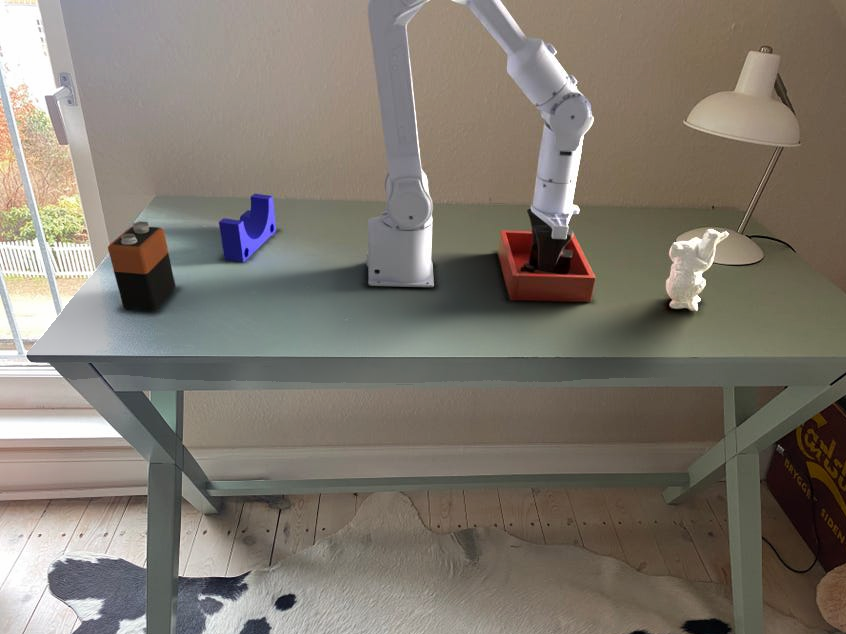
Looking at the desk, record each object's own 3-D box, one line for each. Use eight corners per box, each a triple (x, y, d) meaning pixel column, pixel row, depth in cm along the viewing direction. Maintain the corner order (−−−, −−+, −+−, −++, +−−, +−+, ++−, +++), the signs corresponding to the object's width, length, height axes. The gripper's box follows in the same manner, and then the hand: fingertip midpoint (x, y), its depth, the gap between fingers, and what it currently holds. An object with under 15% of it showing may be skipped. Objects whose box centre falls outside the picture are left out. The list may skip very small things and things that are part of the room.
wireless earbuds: (525, 261, 104) (528, 242, 102) (570, 269, 103) (573, 250, 101) (519, 273, 101) (522, 254, 99) (565, 282, 99) (569, 263, 98)
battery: (177, 288, 91) (163, 220, 85) (156, 313, 86) (139, 242, 80) (145, 285, 91) (129, 217, 85) (122, 310, 85) (103, 239, 80)
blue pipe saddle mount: (249, 227, 109) (245, 192, 106) (276, 230, 109) (272, 196, 105) (214, 258, 99) (208, 220, 96) (243, 262, 99) (238, 224, 96)
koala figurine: (699, 294, 102) (721, 221, 96) (717, 316, 97) (742, 241, 90) (647, 293, 101) (665, 220, 94) (662, 316, 96) (683, 240, 89)
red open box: (509, 300, 96) (512, 275, 94) (497, 252, 109) (500, 230, 106) (590, 302, 97) (595, 277, 95) (569, 255, 110) (573, 232, 108)
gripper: (595, 196, 89) (578, 286, 96) (573, 161, 100) (559, 243, 108) (544, 194, 88) (531, 284, 95) (527, 159, 100) (517, 242, 107)
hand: (543, 263), depth 102 cm, fingers closed on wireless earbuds, 4 cm apart
